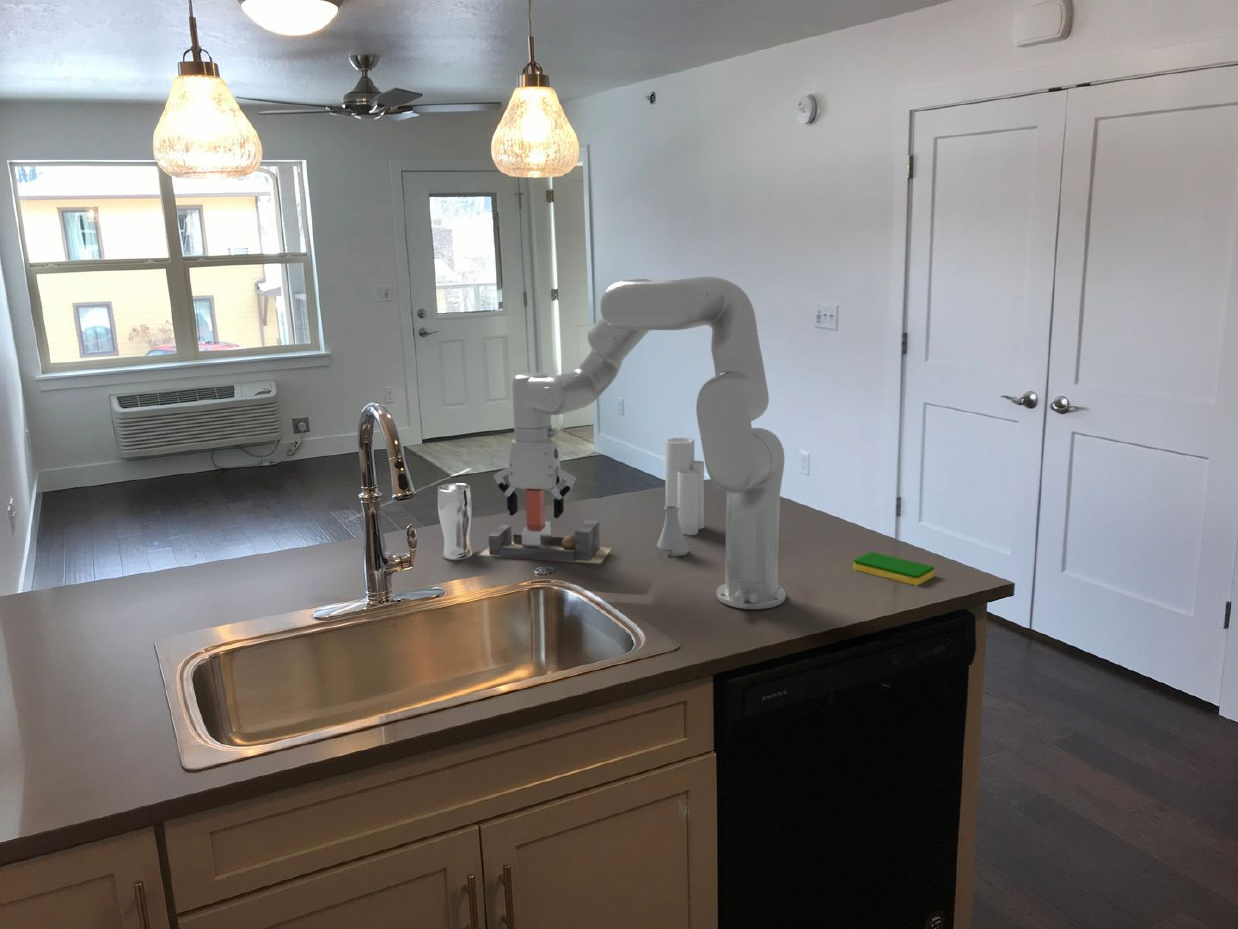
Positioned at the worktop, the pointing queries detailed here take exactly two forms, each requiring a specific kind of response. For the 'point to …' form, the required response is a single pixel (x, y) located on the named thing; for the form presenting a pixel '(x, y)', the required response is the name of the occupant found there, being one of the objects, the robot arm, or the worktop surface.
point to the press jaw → (536, 521)
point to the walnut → (569, 542)
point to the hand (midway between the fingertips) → (535, 515)
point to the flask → (672, 533)
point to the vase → (685, 483)
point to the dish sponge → (894, 568)
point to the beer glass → (455, 520)
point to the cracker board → (584, 546)
